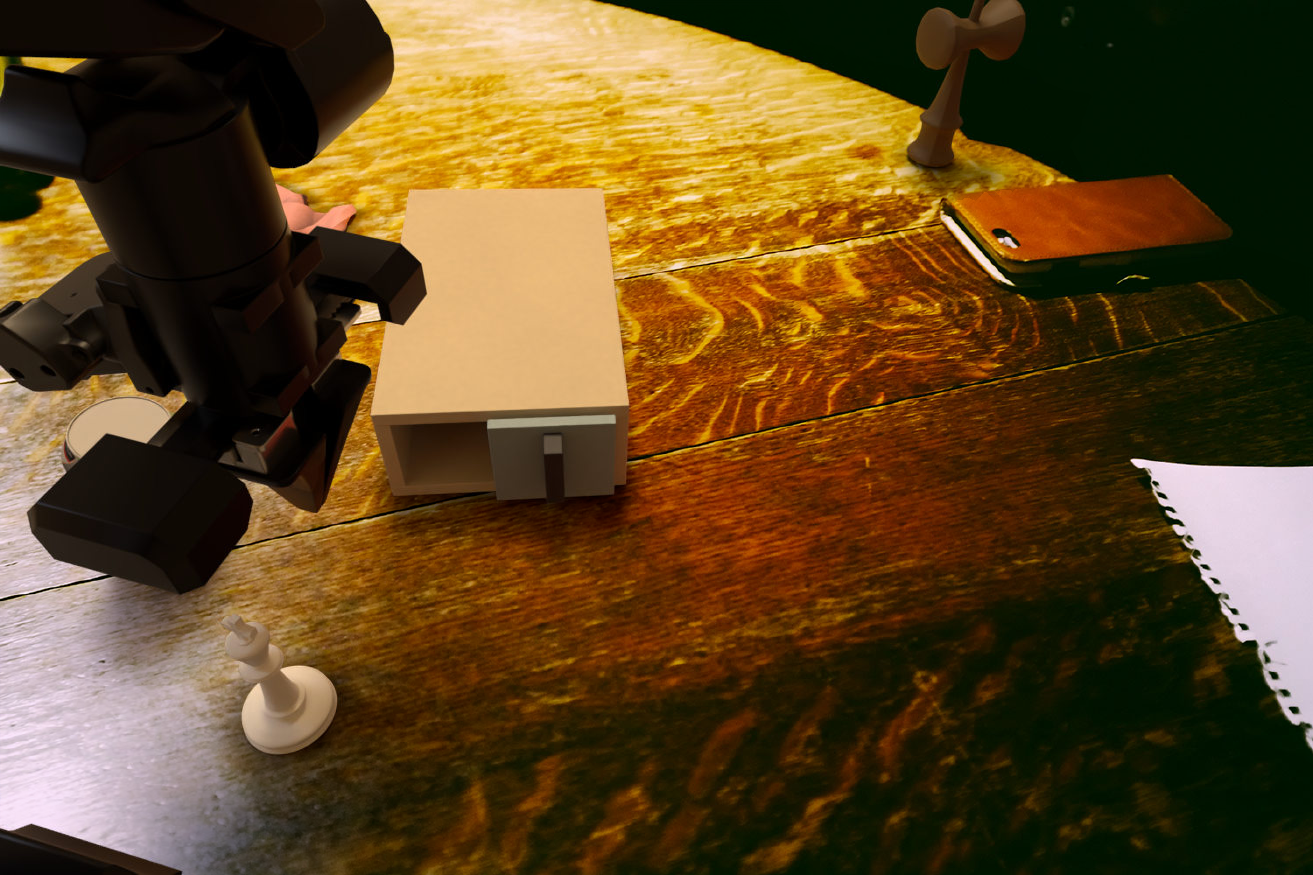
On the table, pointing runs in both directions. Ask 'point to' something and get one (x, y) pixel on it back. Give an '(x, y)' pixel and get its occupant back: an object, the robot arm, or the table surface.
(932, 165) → the kendama
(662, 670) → the table surface
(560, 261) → the box
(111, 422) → the beverage can
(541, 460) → the closet door
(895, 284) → the table surface
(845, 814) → the table surface
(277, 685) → the chess piece
